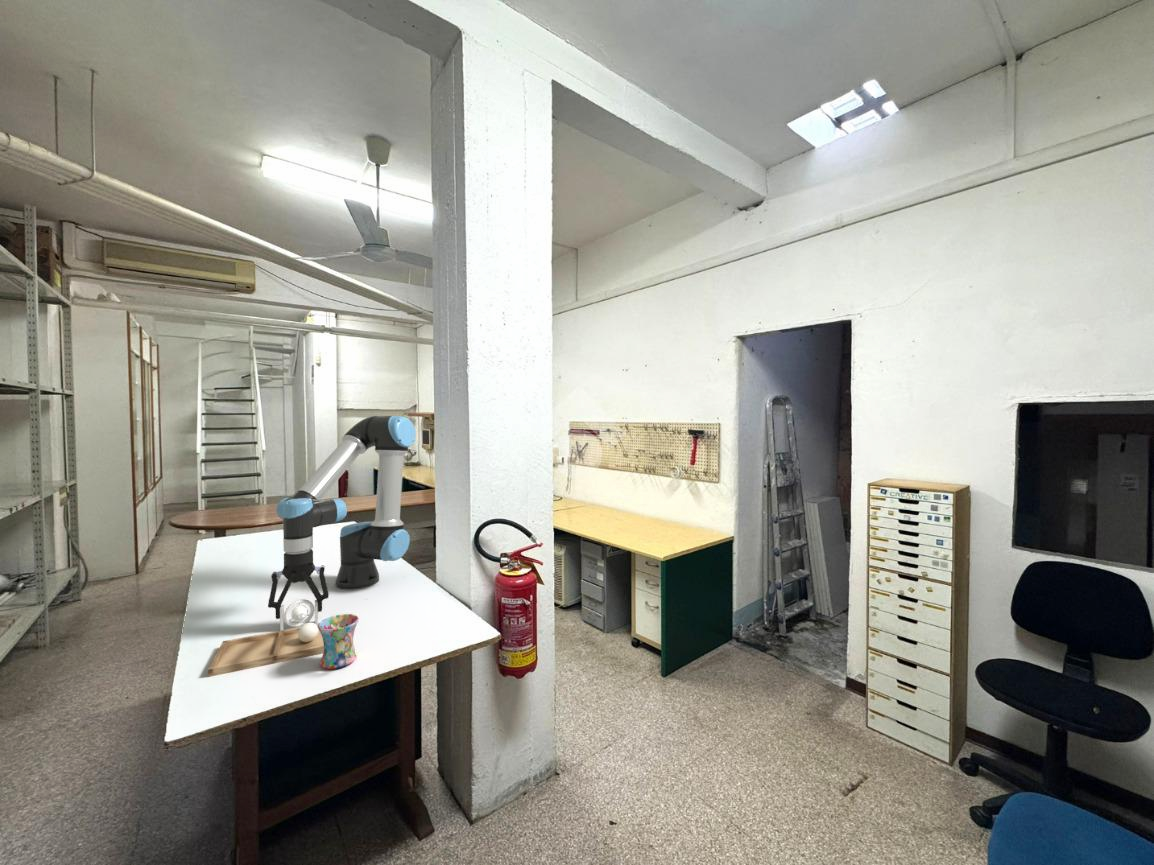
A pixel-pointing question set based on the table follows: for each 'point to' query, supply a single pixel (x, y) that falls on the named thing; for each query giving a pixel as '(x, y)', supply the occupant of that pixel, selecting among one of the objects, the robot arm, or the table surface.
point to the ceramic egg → (308, 632)
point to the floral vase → (338, 640)
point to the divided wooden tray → (263, 651)
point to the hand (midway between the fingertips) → (299, 625)
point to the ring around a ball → (299, 613)
